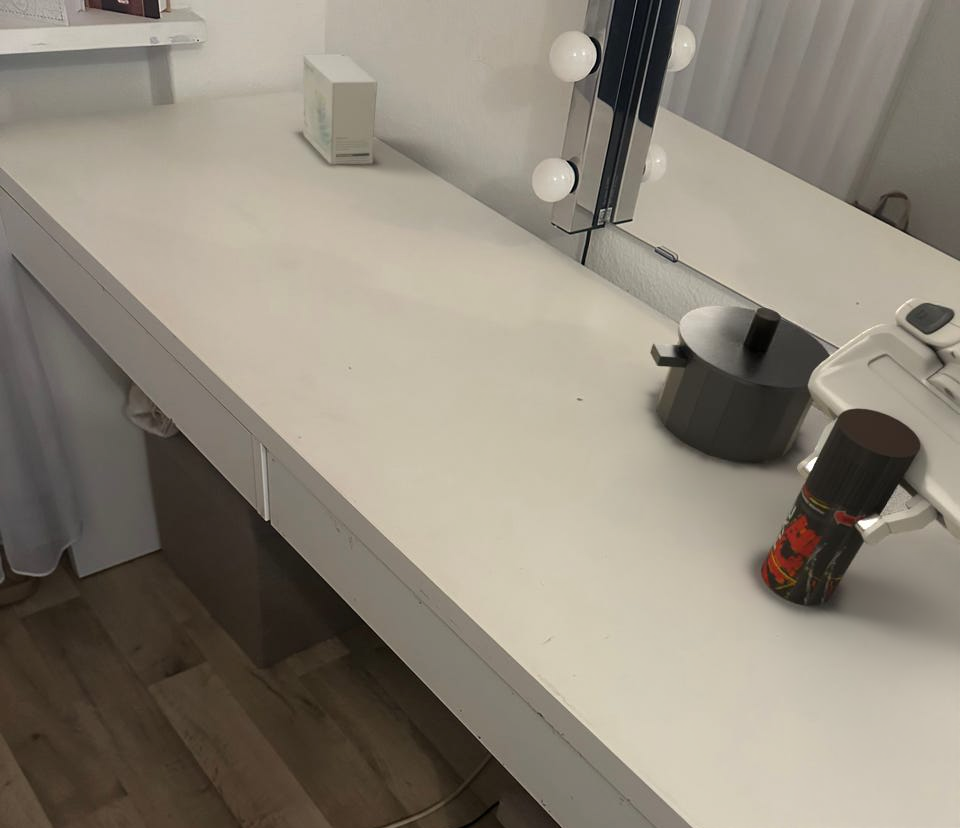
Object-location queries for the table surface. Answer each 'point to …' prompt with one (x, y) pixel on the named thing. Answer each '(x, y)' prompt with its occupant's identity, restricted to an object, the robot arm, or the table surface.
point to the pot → (726, 411)
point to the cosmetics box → (339, 108)
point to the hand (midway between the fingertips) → (831, 505)
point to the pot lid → (752, 347)
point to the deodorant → (838, 504)
